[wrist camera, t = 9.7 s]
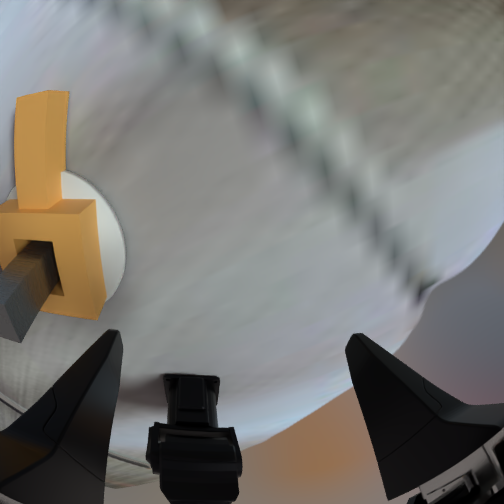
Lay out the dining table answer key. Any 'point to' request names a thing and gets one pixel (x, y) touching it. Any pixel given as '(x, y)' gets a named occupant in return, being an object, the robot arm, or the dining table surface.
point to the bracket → (60, 212)
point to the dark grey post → (26, 288)
